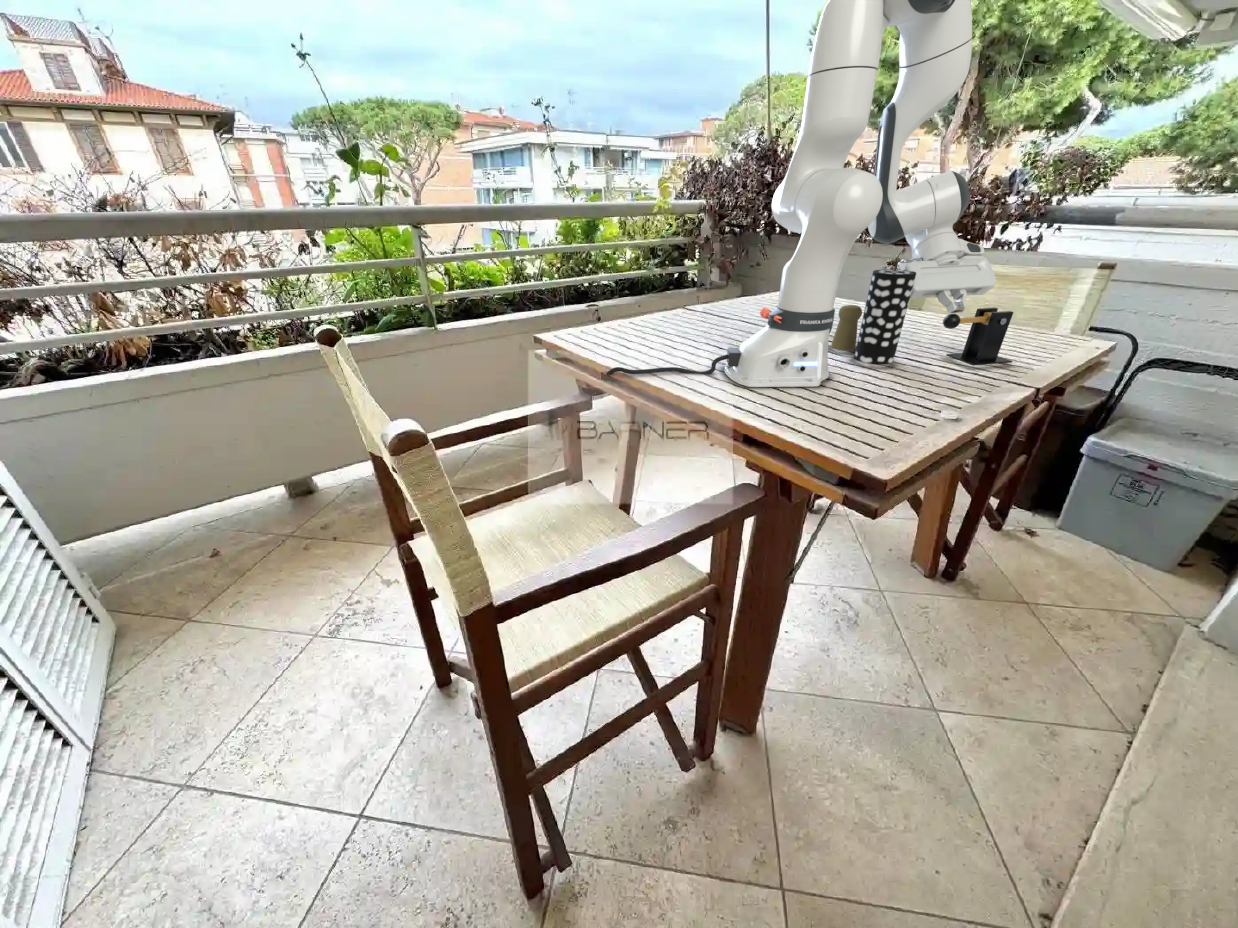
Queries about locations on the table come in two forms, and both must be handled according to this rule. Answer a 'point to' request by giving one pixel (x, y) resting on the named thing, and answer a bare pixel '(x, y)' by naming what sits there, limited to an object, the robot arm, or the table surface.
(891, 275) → the white-spotted black cylinder
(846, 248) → the robot arm
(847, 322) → the cork
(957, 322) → the latch lever
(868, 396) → the table surface
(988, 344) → the bracket
